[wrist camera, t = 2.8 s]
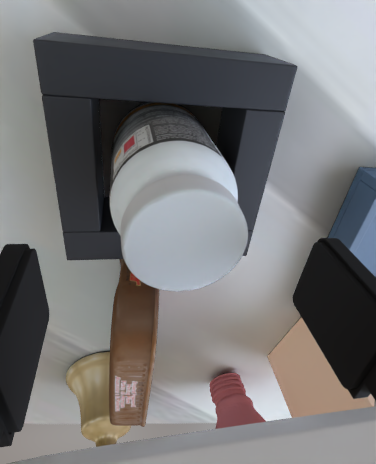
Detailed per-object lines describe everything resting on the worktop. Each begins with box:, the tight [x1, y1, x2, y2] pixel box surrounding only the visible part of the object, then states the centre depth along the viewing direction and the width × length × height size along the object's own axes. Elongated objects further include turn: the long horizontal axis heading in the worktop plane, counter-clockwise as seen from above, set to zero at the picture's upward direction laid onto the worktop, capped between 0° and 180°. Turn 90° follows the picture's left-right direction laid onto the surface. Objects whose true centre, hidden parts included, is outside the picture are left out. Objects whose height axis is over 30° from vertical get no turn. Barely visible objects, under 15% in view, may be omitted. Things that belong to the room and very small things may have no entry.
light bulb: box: [210, 373, 266, 429], centre depth 31 cm, size 7×7×12 cm
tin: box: [109, 259, 159, 427], centre depth 23 cm, size 15×3×8 cm, turn 171°
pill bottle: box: [110, 102, 248, 291], centre depth 15 cm, size 6×6×10 cm
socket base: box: [33, 32, 297, 260], centre depth 18 cm, size 11×11×4 cm
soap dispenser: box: [267, 317, 375, 418], centre depth 27 cm, size 13×9×22 cm
